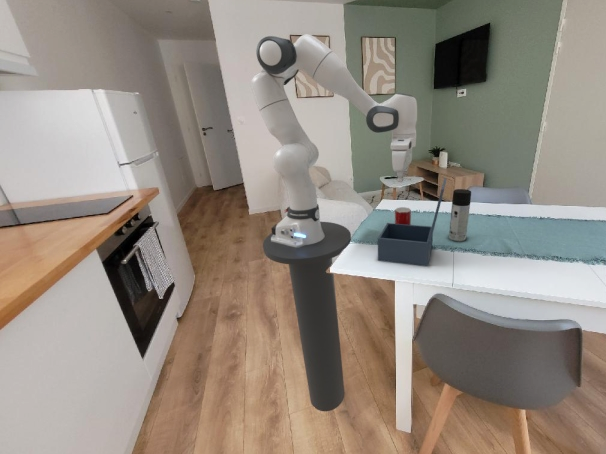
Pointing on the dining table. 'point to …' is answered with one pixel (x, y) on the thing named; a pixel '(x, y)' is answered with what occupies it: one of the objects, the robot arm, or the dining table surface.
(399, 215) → the can
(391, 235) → the dark blue box
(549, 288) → the dining table surface
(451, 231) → the spray can
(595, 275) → the dining table surface
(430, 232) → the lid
